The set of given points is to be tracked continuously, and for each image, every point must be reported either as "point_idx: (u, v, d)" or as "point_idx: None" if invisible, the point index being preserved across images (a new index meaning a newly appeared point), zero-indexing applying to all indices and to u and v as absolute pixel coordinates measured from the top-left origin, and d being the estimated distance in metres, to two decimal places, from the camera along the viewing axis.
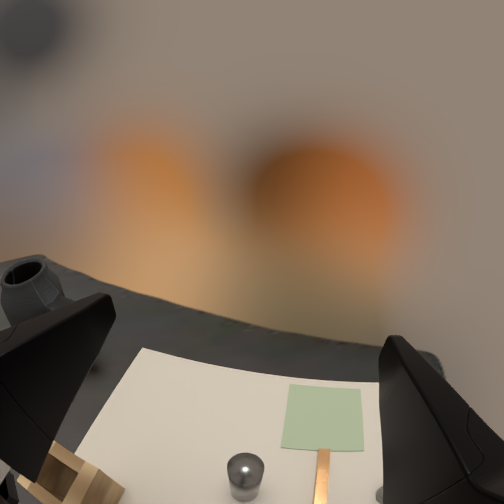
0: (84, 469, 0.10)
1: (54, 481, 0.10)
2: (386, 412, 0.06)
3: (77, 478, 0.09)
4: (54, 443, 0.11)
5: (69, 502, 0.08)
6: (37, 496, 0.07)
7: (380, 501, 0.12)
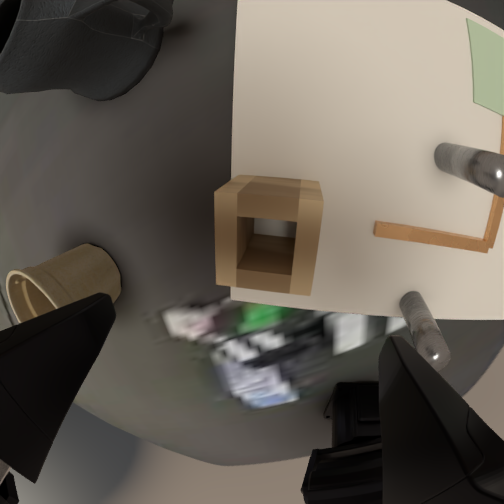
0: (303, 212, 0.12)
1: (245, 234, 0.16)
2: (386, 412, 0.06)
3: (299, 231, 0.13)
4: (236, 196, 0.13)
5: (300, 270, 0.13)
6: (255, 286, 0.14)
7: None
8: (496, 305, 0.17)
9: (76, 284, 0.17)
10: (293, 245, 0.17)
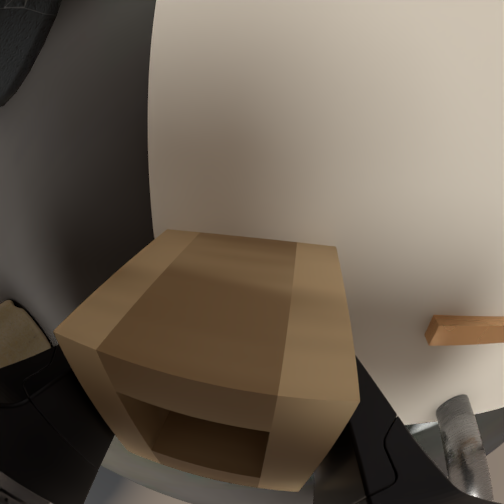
0: (290, 421, 0.03)
1: None
2: None
3: (275, 444, 0.04)
4: (98, 357, 0.04)
5: (279, 476, 0.05)
6: (192, 472, 0.06)
7: None
8: None
9: None
10: None
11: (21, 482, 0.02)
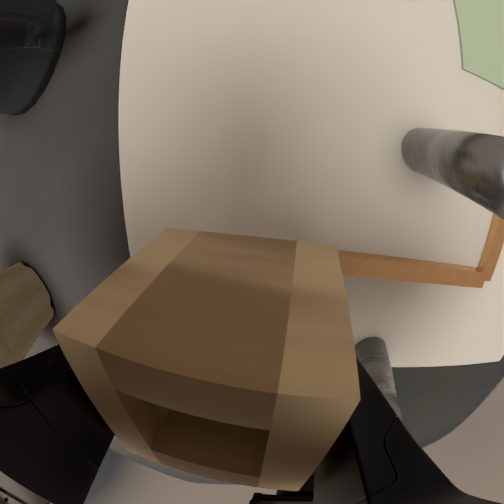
0: (290, 419, 0.03)
1: None
2: None
3: (275, 442, 0.04)
4: (97, 354, 0.04)
5: (279, 475, 0.05)
6: (192, 471, 0.06)
7: None
8: (490, 347, 0.13)
9: None
10: None
11: (21, 482, 0.02)
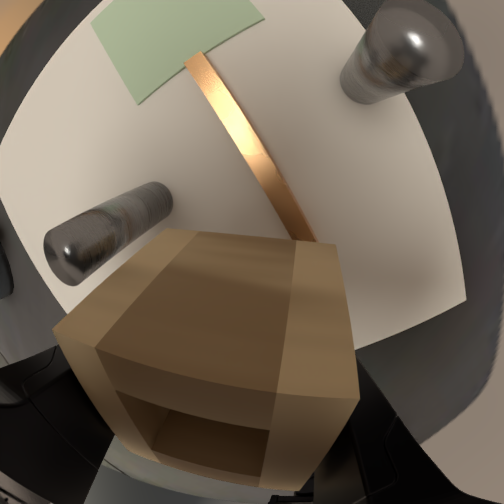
0: (289, 418, 0.03)
1: None
2: None
3: (275, 442, 0.04)
4: (96, 354, 0.04)
5: (279, 475, 0.05)
6: (192, 472, 0.06)
7: (358, 101, 0.09)
8: (426, 297, 0.12)
9: None
10: None
11: (21, 482, 0.02)
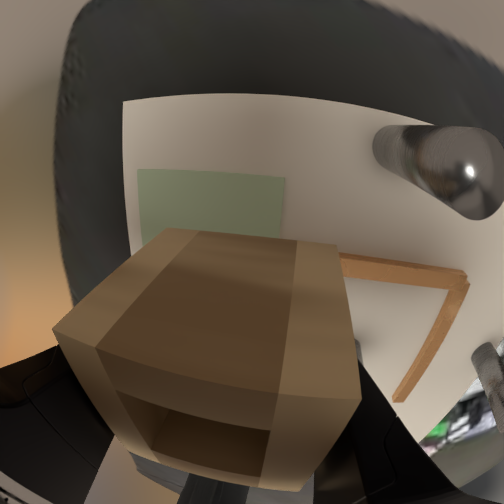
0: (291, 419, 0.03)
1: None
2: None
3: (276, 443, 0.04)
4: (97, 354, 0.04)
5: (279, 476, 0.05)
6: (192, 472, 0.06)
7: None
8: None
9: None
10: None
11: (21, 482, 0.02)
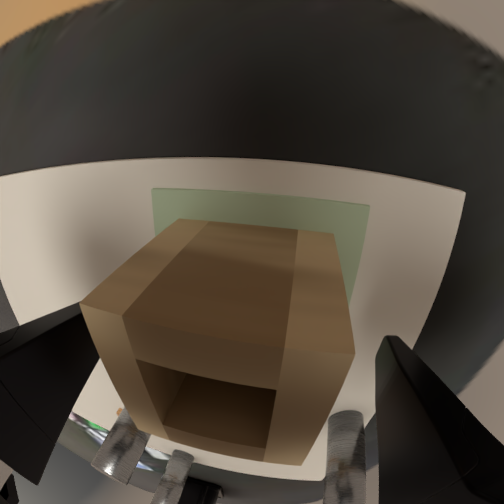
0: (295, 376, 0.04)
1: None
2: (382, 412, 0.06)
3: (281, 404, 0.05)
4: (122, 323, 0.04)
5: (284, 446, 0.05)
6: (200, 447, 0.06)
7: None
8: (297, 474, 0.17)
9: None
10: None
11: None
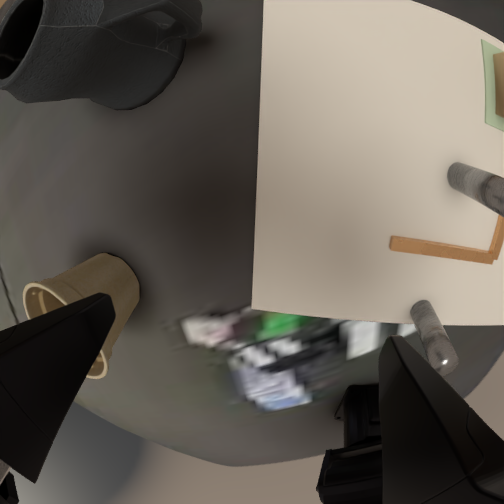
0: None
1: None
2: (386, 412, 0.06)
3: None
4: None
5: None
6: None
7: None
8: (499, 311, 0.18)
9: None
10: None
11: None
